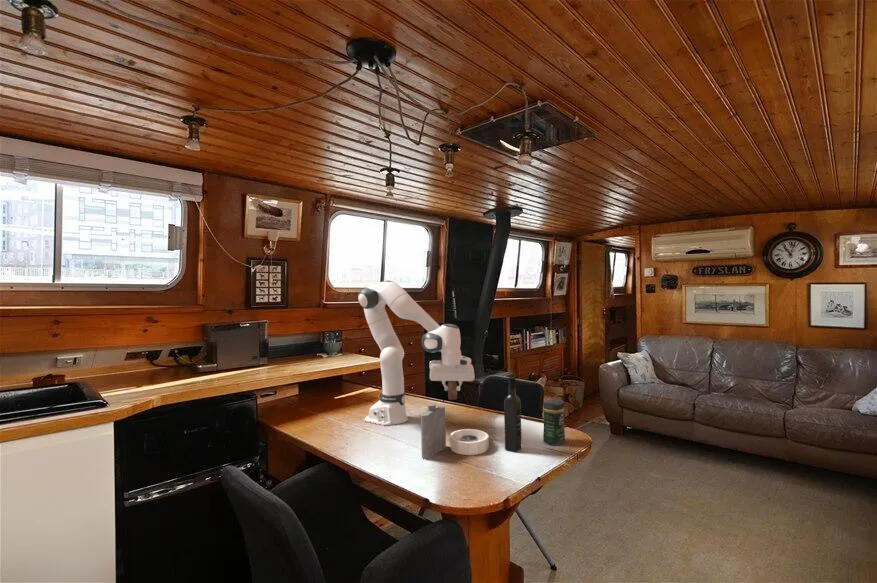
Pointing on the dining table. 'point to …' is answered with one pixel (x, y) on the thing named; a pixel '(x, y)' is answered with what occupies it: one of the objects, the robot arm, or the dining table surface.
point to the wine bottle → (512, 418)
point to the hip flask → (433, 430)
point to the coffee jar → (554, 421)
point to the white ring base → (469, 447)
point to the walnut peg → (452, 390)
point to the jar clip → (469, 438)
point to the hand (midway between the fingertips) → (452, 390)
